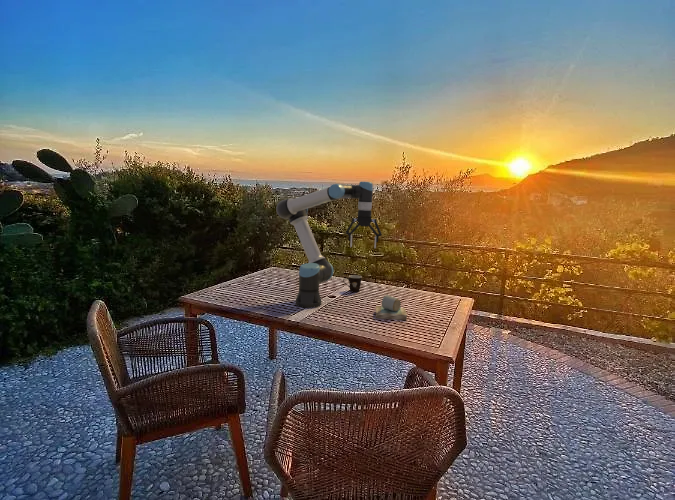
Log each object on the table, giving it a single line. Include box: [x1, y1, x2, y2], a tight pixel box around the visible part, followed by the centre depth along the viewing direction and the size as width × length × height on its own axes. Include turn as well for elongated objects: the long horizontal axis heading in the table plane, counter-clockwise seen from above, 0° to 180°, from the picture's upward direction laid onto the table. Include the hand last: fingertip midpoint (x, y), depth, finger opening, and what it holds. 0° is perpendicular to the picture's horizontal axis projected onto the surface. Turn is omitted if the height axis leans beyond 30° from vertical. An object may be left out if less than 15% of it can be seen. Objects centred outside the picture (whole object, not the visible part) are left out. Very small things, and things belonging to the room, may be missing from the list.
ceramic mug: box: [381, 294, 402, 311], centre depth 204 cm, size 11×8×8 cm
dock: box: [375, 305, 408, 321], centre depth 204 cm, size 16×12×3 cm
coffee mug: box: [342, 274, 363, 293], centre depth 251 cm, size 12×9×10 cm
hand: (363, 247), depth 213 cm, fingers open, 13 cm apart
